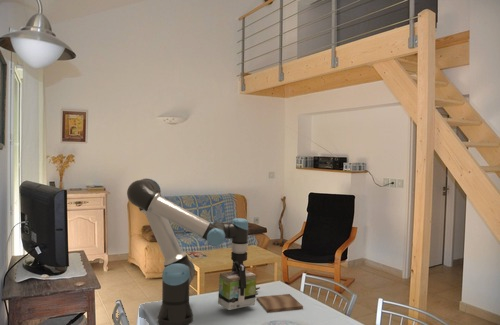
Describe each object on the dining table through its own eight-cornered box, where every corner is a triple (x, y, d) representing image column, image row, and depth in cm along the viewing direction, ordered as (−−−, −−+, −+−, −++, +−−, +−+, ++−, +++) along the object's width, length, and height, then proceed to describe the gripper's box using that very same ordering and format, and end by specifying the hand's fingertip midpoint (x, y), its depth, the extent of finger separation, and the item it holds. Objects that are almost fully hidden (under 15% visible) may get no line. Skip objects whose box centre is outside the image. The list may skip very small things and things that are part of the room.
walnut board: (267, 312, 186) (267, 309, 186) (256, 299, 203) (256, 296, 203) (303, 309, 192) (303, 306, 192) (289, 296, 208) (289, 293, 208)
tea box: (229, 311, 181) (230, 278, 181) (217, 304, 189) (218, 272, 189) (255, 305, 190) (257, 273, 189) (243, 298, 198) (244, 268, 198)
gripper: (254, 257, 179) (252, 306, 179) (240, 245, 202) (239, 288, 202) (238, 258, 177) (236, 307, 177) (225, 246, 200) (224, 289, 200)
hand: (237, 297), depth 190 cm, fingers closed on tea box, 11 cm apart
